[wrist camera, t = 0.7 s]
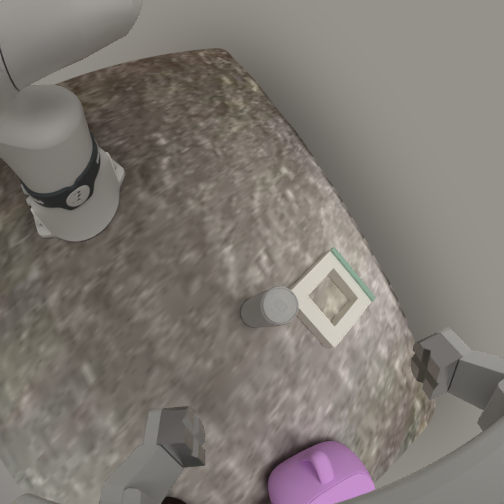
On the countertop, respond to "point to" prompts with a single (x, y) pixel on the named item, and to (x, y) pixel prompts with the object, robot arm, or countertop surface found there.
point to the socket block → (346, 282)
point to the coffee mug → (172, 501)
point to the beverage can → (270, 308)
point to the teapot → (319, 476)
